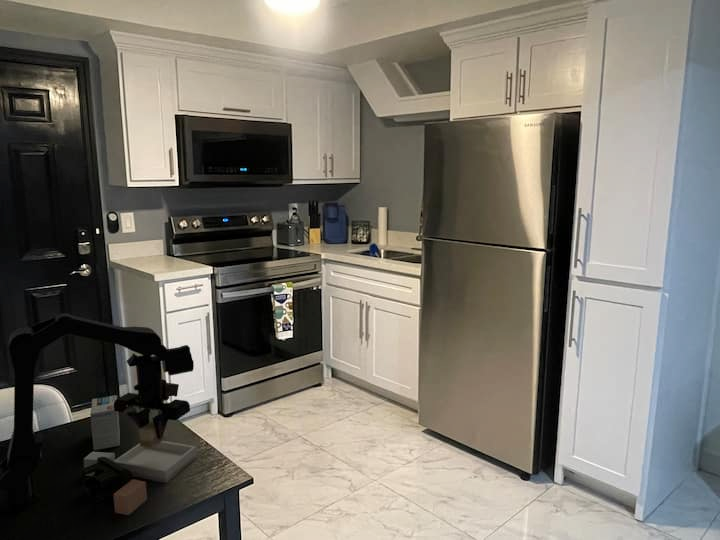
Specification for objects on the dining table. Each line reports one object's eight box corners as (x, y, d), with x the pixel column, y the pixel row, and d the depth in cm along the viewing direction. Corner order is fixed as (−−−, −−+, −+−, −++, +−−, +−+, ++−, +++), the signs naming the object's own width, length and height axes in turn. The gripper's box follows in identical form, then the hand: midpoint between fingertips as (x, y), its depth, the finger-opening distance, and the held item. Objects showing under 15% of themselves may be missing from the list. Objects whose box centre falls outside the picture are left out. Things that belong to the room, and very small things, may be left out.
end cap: (134, 491, 123) (132, 465, 122) (105, 506, 117) (102, 479, 116) (112, 477, 129) (109, 452, 127) (82, 491, 123) (80, 465, 122)
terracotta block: (128, 515, 114) (126, 496, 113) (115, 512, 115) (113, 494, 114) (147, 499, 120) (145, 481, 119) (134, 497, 121) (132, 479, 120)
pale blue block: (116, 469, 132) (114, 453, 131) (107, 477, 129) (106, 460, 128) (94, 468, 133) (92, 451, 132) (85, 475, 130) (83, 458, 129)
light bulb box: (94, 434, 151) (90, 398, 149) (120, 429, 153) (117, 394, 152) (93, 451, 141) (89, 413, 139) (120, 445, 144) (117, 408, 142)
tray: (166, 482, 126) (165, 471, 125) (114, 472, 131) (112, 461, 130) (196, 457, 138) (196, 446, 137) (147, 448, 142) (147, 438, 142)
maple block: (152, 448, 130) (150, 431, 129) (140, 446, 131) (139, 429, 130) (167, 437, 135) (166, 420, 135) (156, 435, 136) (155, 418, 136)
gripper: (201, 371, 135) (204, 428, 138) (140, 364, 140) (145, 419, 143) (173, 388, 124) (177, 449, 127) (109, 379, 130) (114, 438, 133)
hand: (154, 437), depth 133 cm, fingers closed on maple block, 3 cm apart
